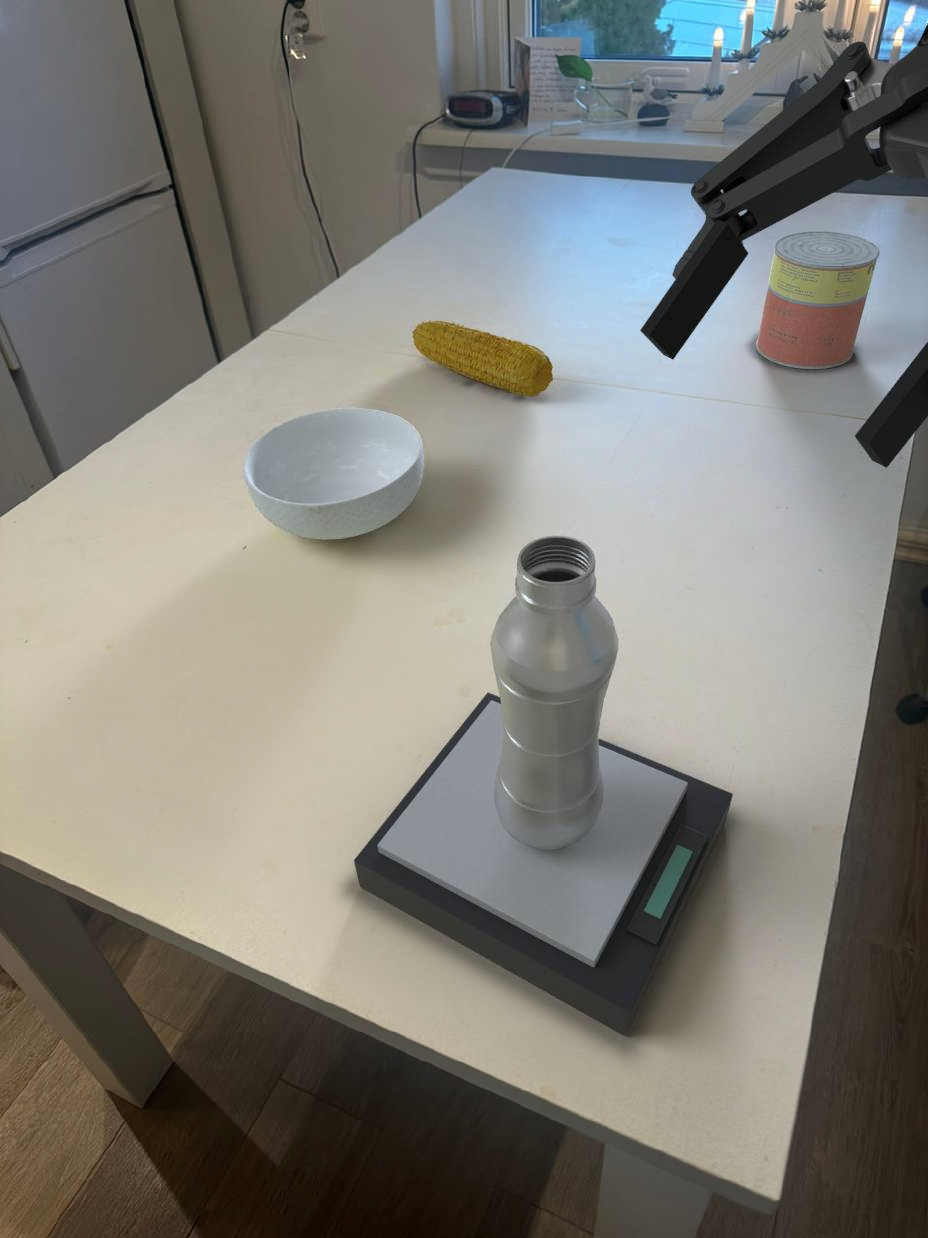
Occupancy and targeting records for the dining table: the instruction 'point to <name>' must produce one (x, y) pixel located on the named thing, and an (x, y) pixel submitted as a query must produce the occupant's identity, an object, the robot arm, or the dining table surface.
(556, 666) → the silver aluminium bottle
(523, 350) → the food
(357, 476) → the cereal bowl
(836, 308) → the canned food
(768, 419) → the dining table surface
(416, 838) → the scale
